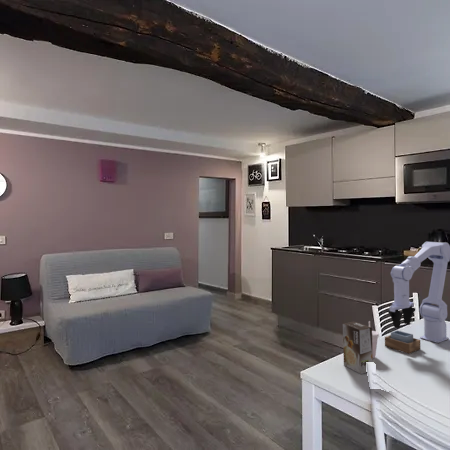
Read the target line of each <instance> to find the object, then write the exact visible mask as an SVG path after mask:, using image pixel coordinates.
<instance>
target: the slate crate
mask: <svg viewBox="0 0 450 450" xmlns="http://www.w3.org/2000/svg"><path fill="white" fill-rule="evenodd" d="M390 335H391V339H395V340H398V341H401V342H405V343H411V342H413V338H414V334H413V333H409V332H404V331H401V330H399V329H398V330H393V331H391V332H390Z"/></svg>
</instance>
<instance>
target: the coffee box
mask: <svg viewBox="0 0 450 450" xmlns="http://www.w3.org/2000/svg"><path fill="white" fill-rule="evenodd" d="M372 331H373V327H372V326H370V327H369V325H366V324H363V323H360V322H357V321H349V322H346V323H345V322H344V323H342V340H343V341H342V343H343V344H342V347H343V366H344V367H346V368H349V369H350V370H352V371H354V372H356V373H358V374H360V375H362V374H366V362H373V363H374V361H373V359H374V358H373V352H372Z"/></svg>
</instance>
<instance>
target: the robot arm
mask: <svg viewBox="0 0 450 450" xmlns="http://www.w3.org/2000/svg"><path fill="white" fill-rule="evenodd" d="M427 258H428V259H429V260H430V261H432V263H433V268H432V272H431V273H432V274H431V278H430V279H431V280H430V285H429V291H428V296H427V297H425V298H424V299H422V300H421V304H420V306H419V314H420V316H421V317H422V319H423V320H424V321H423V323H424V324H423V325H424V327H423V329H424V332H423V335H422V336H419V337H420V338H419V339H422V340H425V341H430V342H433V343H437V344H439V343H441V342H444V341H446V340H449V339H450V338H449V337H448V336H447V323H446V321H445V320H446V319H447V317H448V304H447V303H446V301H444V300H443V298H442V297H443V293H444V287H445V280H446V275H447V269H448V263H449V262H450V244H449V243H448V242H446V241H445V242H440V241H438V242H437V241H425V242H424V243H423V244H421V249H419V251H418V252H417V253H416V254H415V255H414V256H413V255H412V256H410V255H409V256H407V258H406V259H405V260H403V261H402V262H401V263H400V264H399V265H395V266H393V267H392V269H391V271H390V276H391V279H392V283H393V293H394V295H393V296H394V297H393V299H394V300H393V301H394V302H391V305H390V306H389V309H388V310H387V312H388V315H389V316H390V318H391V321H392V324H393V327H394V328H396V329H400V327H401V320H402V318H403V322H404V324H405V325H408V326H409V325H411V321H412V319H413V315H414V313H415V312H416V307H414V302H413V301H410V281H411V279H412V278H413V275H414V274H415V272H416V271H417V270H418V269H419V268H420V267H421V263H422V262H423V261H425V260H426V259H427ZM400 311H402V312H400Z"/></svg>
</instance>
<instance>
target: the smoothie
mask: <svg viewBox="0 0 450 450" xmlns="http://www.w3.org/2000/svg"><path fill="white" fill-rule="evenodd" d="M368 326H369V327H371V321H370V320H369V321H368ZM379 335H380V334H379V332H377V331H376V330H372V352H373V359H375V358H376V357H377V356H376V355H377V347H378V346H377V345H378V338H379V337H380V336H379Z"/></svg>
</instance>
